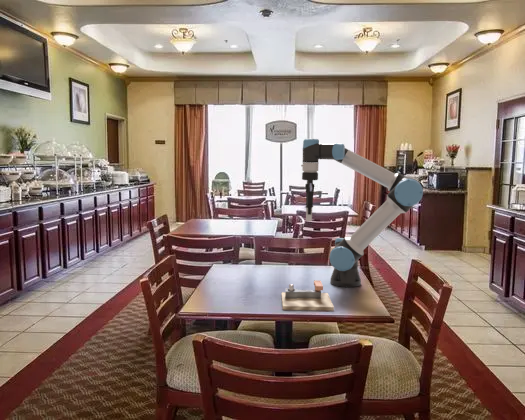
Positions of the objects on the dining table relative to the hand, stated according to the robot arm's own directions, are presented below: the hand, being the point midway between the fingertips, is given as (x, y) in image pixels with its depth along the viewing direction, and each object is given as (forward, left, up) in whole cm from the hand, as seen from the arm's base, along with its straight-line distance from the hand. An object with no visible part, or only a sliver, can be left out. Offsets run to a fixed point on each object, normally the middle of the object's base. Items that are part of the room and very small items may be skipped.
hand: (308, 220), depth 223 cm
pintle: (+9, +22, -31) cm, 39 cm away
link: (+4, +22, -31) cm, 38 cm away
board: (+2, +25, -32) cm, 41 cm away
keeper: (-3, +21, -31) cm, 37 cm away
